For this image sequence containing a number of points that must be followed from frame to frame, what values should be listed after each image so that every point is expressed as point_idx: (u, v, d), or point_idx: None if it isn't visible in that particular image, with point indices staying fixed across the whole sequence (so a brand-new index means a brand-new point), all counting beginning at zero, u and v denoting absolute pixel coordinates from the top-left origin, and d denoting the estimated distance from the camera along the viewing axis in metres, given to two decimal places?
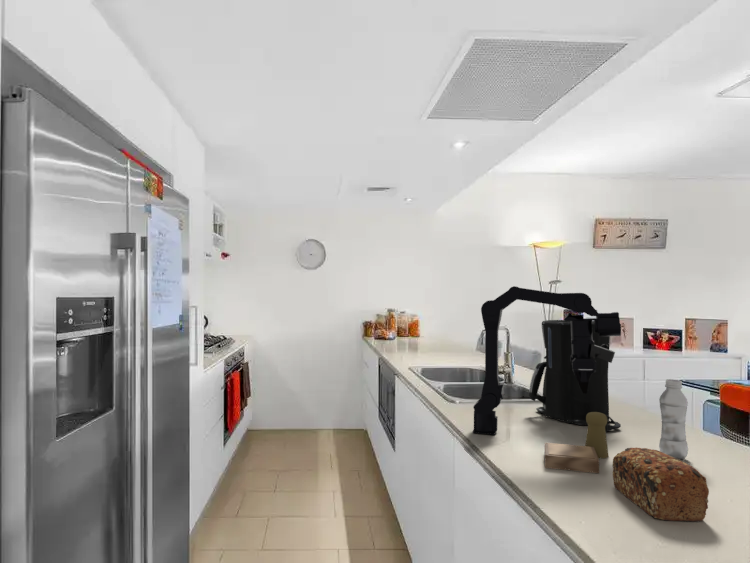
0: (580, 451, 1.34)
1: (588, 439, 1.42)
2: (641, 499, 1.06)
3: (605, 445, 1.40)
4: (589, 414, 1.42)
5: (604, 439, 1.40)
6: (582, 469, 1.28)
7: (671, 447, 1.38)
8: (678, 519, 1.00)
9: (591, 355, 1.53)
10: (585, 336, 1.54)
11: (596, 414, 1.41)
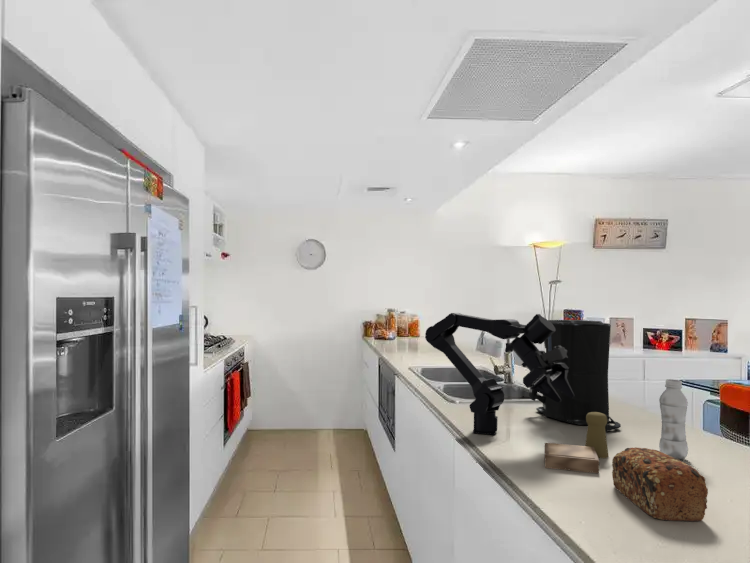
0: (580, 451, 1.34)
1: (588, 439, 1.42)
2: (640, 499, 1.06)
3: (605, 445, 1.40)
4: (589, 414, 1.42)
5: (604, 439, 1.40)
6: (582, 469, 1.28)
7: (671, 447, 1.38)
8: (677, 519, 1.00)
9: (542, 364, 1.50)
10: (527, 353, 1.53)
11: (596, 414, 1.41)
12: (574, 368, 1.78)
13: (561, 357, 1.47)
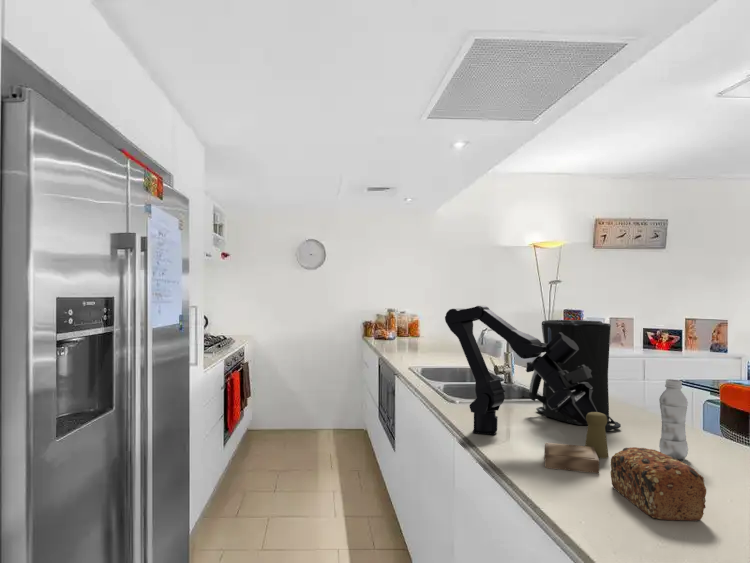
0: (580, 451, 1.34)
1: (588, 439, 1.42)
2: (639, 499, 1.06)
3: (605, 445, 1.40)
4: (589, 414, 1.42)
5: (604, 439, 1.40)
6: (582, 469, 1.28)
7: (671, 447, 1.38)
8: (676, 519, 1.01)
9: (566, 385, 1.45)
10: (549, 373, 1.48)
11: (596, 414, 1.41)
12: (574, 368, 1.78)
13: (586, 377, 1.43)
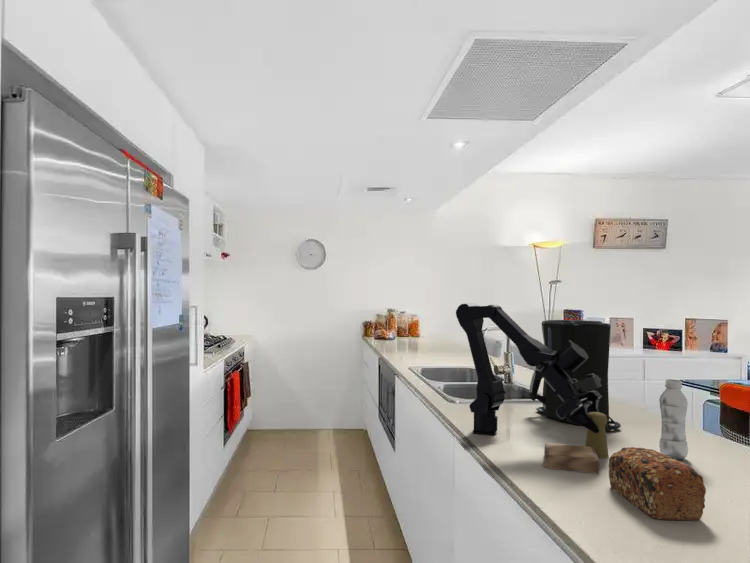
0: (580, 451, 1.34)
1: (588, 439, 1.42)
2: (638, 499, 1.06)
3: (605, 445, 1.40)
4: (589, 414, 1.42)
5: (604, 439, 1.40)
6: (582, 469, 1.28)
7: (671, 447, 1.38)
8: (675, 518, 1.01)
9: (575, 394, 1.43)
10: (558, 381, 1.47)
11: (596, 414, 1.41)
12: None
13: (595, 386, 1.41)
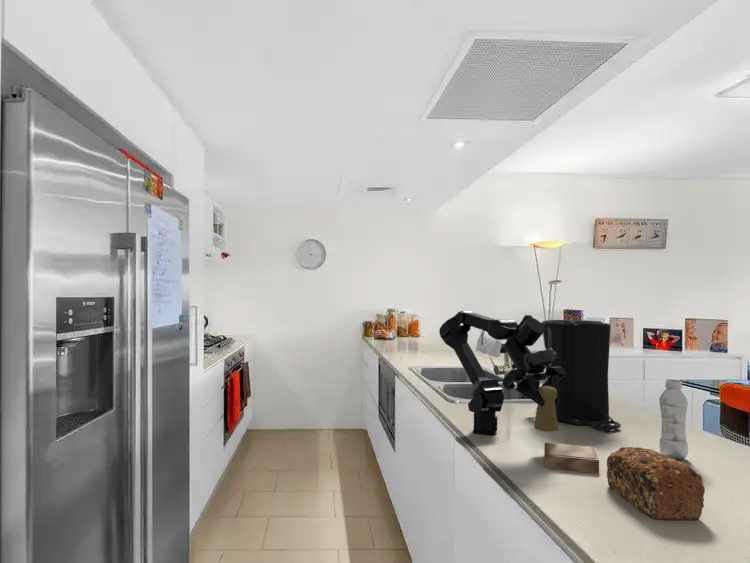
0: (580, 451, 1.34)
1: (536, 412, 1.43)
2: (637, 499, 1.06)
3: (552, 419, 1.41)
4: (539, 387, 1.43)
5: (551, 413, 1.41)
6: (582, 469, 1.28)
7: (671, 447, 1.38)
8: (675, 518, 1.01)
9: (527, 367, 1.46)
10: (515, 354, 1.50)
11: (544, 388, 1.42)
12: (574, 368, 1.78)
13: (543, 360, 1.42)
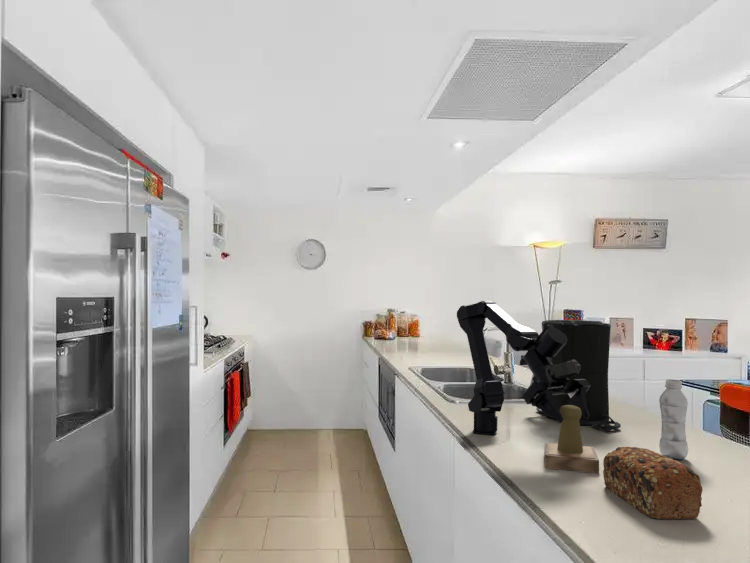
0: None
1: (560, 432, 1.35)
2: (635, 498, 1.06)
3: (576, 440, 1.32)
4: (561, 406, 1.35)
5: (575, 434, 1.33)
6: (582, 469, 1.28)
7: (671, 447, 1.38)
8: (673, 518, 1.01)
9: (549, 380, 1.38)
10: (536, 366, 1.42)
11: (567, 407, 1.34)
12: None
13: (566, 372, 1.34)
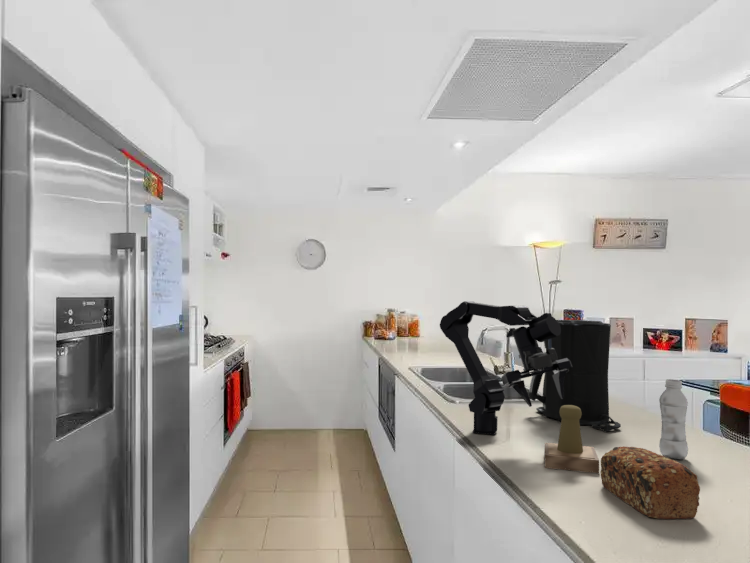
0: None
1: (560, 432, 1.35)
2: (633, 498, 1.06)
3: (576, 440, 1.32)
4: (561, 406, 1.35)
5: (575, 434, 1.33)
6: (582, 469, 1.28)
7: (671, 447, 1.38)
8: (671, 517, 1.01)
9: (526, 366, 1.49)
10: (519, 348, 1.52)
11: (567, 407, 1.34)
12: (574, 368, 1.78)
13: (537, 367, 1.44)
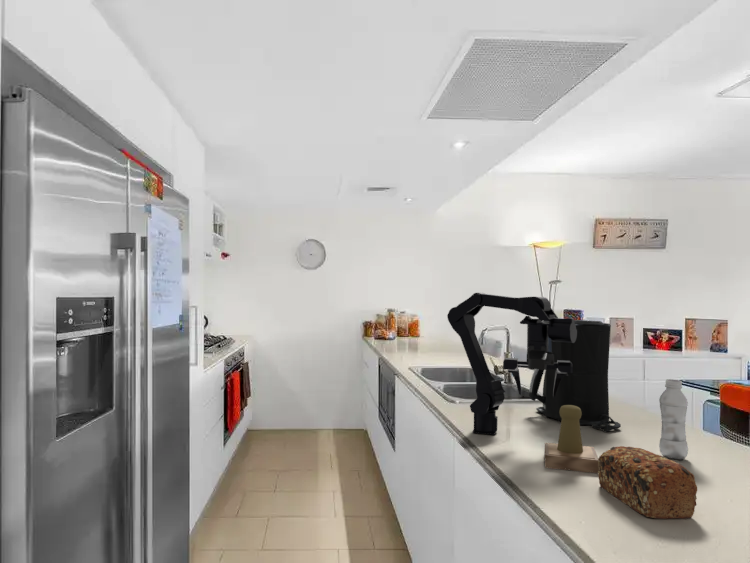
0: None
1: (560, 432, 1.35)
2: (630, 498, 1.06)
3: (576, 440, 1.32)
4: (561, 406, 1.35)
5: (575, 434, 1.33)
6: (582, 469, 1.28)
7: (671, 447, 1.38)
8: (668, 517, 1.01)
9: None
10: (527, 339, 1.55)
11: (567, 407, 1.34)
12: (574, 368, 1.78)
13: (529, 367, 1.48)
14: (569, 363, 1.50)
